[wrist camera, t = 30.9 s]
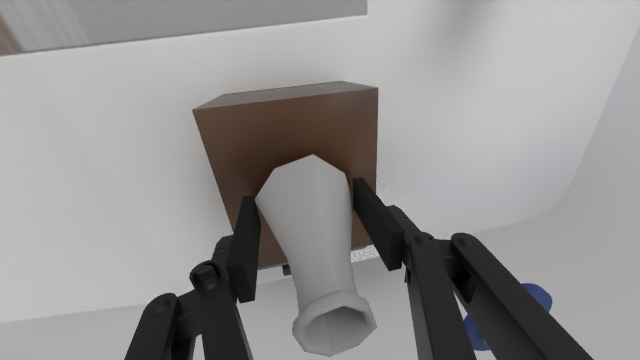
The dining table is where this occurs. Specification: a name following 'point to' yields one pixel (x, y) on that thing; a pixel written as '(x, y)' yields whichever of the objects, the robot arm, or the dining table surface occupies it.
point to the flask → (317, 253)
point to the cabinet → (289, 143)
